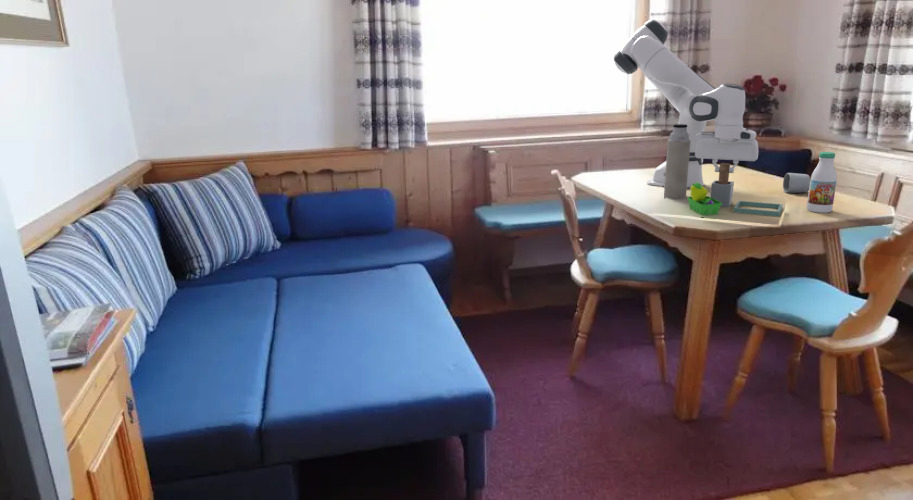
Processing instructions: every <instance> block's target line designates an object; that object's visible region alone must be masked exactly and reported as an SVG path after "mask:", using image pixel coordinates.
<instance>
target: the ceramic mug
mask: <svg viewBox="0 0 913 500" xmlns="http://www.w3.org/2000/svg"><path fill="white" fill-rule="evenodd" d="M810 181H811V176H810V175H809V174H806V173H796V172H795V173H794V172H787V173H786V174H785V175H784V177H783V181H782V189H783V192H784V193H785V194H804V193H805V194H806V193H809V187H810Z"/></svg>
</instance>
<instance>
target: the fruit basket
mask: <svg viewBox="0 0 913 500" xmlns="http://www.w3.org/2000/svg"><path fill="white" fill-rule="evenodd" d="M708 192H709V191H708V188H705V187H704V185H703V186H701V184H700V183H695V184H694V183H693V184H692V186H691V187H690V196H687V201H688V205H689V209H690V210H691V211H693V212H696V213H697V214H699V215H700V218H701V219H702V218H703V219H704V218H708V217H706V216H711V215H712V216H713V215H718V213H719V210H720V208H721V207H720V206H721V205H722V203H721V202H719V201H717V200H715V199H713V198H711V197H710V195H708ZM704 216H705V217H704Z"/></svg>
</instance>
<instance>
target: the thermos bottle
mask: <svg viewBox="0 0 913 500" xmlns="http://www.w3.org/2000/svg"><path fill="white" fill-rule="evenodd" d="M672 126H673V128H672V132H671V133H670V134H669V138H668V139H667V145H666V147H667V150H666V160H665V161H666V173H665V186H663V187H664V190H663V199H664V200H665V199H674V200H675V199H676V200H678V199H679V200H681V199H686V198H687V189H688V188H687V178H688V166H689V154H690V141H691V140H689V134H688V133H687V125H685V124H678V123H676V124H673V125H672Z"/></svg>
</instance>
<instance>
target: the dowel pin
mask: <svg viewBox="0 0 913 500" xmlns="http://www.w3.org/2000/svg"><path fill="white" fill-rule="evenodd" d="M719 167H720V171H719V172H718V180H717V181H718V184H728V181H729V177H730V173H729V168H730V167H731V163H723V162H722V163H720V164H719Z"/></svg>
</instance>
